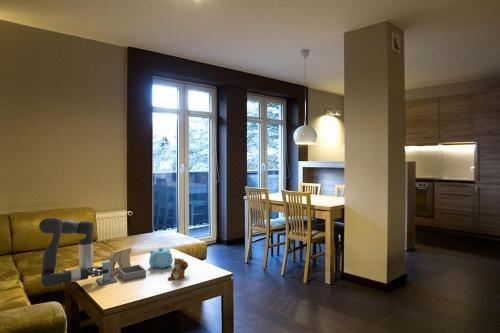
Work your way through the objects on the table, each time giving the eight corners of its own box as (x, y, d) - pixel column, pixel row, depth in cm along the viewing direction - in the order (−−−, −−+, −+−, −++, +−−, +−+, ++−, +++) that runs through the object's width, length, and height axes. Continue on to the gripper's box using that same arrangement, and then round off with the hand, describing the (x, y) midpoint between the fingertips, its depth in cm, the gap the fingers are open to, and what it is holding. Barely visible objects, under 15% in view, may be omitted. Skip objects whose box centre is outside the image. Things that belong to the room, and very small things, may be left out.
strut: (102, 279, 224) (102, 261, 224) (109, 277, 226) (108, 260, 226) (104, 280, 220) (103, 262, 220) (110, 279, 223) (110, 261, 223)
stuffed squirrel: (166, 280, 222) (166, 260, 222) (176, 273, 236) (176, 254, 236) (181, 281, 220) (180, 261, 220) (190, 274, 234) (190, 254, 233)
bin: (118, 275, 235) (118, 268, 234) (139, 271, 243) (139, 264, 242) (124, 281, 222) (124, 274, 222) (146, 276, 230) (146, 270, 230)
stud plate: (96, 280, 225) (96, 274, 225) (112, 276, 231) (112, 271, 231) (100, 285, 215) (100, 279, 215) (117, 281, 221) (117, 275, 221)
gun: (111, 276, 232) (112, 253, 233) (106, 275, 233) (107, 253, 234) (131, 268, 256) (131, 247, 257) (126, 267, 257) (127, 247, 258)
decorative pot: (173, 262, 262) (172, 244, 261) (172, 269, 246) (172, 249, 245) (150, 264, 259) (150, 245, 258) (148, 270, 243) (148, 251, 242)
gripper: (80, 271, 208) (109, 266, 217) (77, 265, 220) (104, 260, 229) (81, 283, 208) (109, 278, 218) (77, 277, 220) (104, 272, 229)
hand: (107, 269), depth 223 cm, fingers open, 8 cm apart
